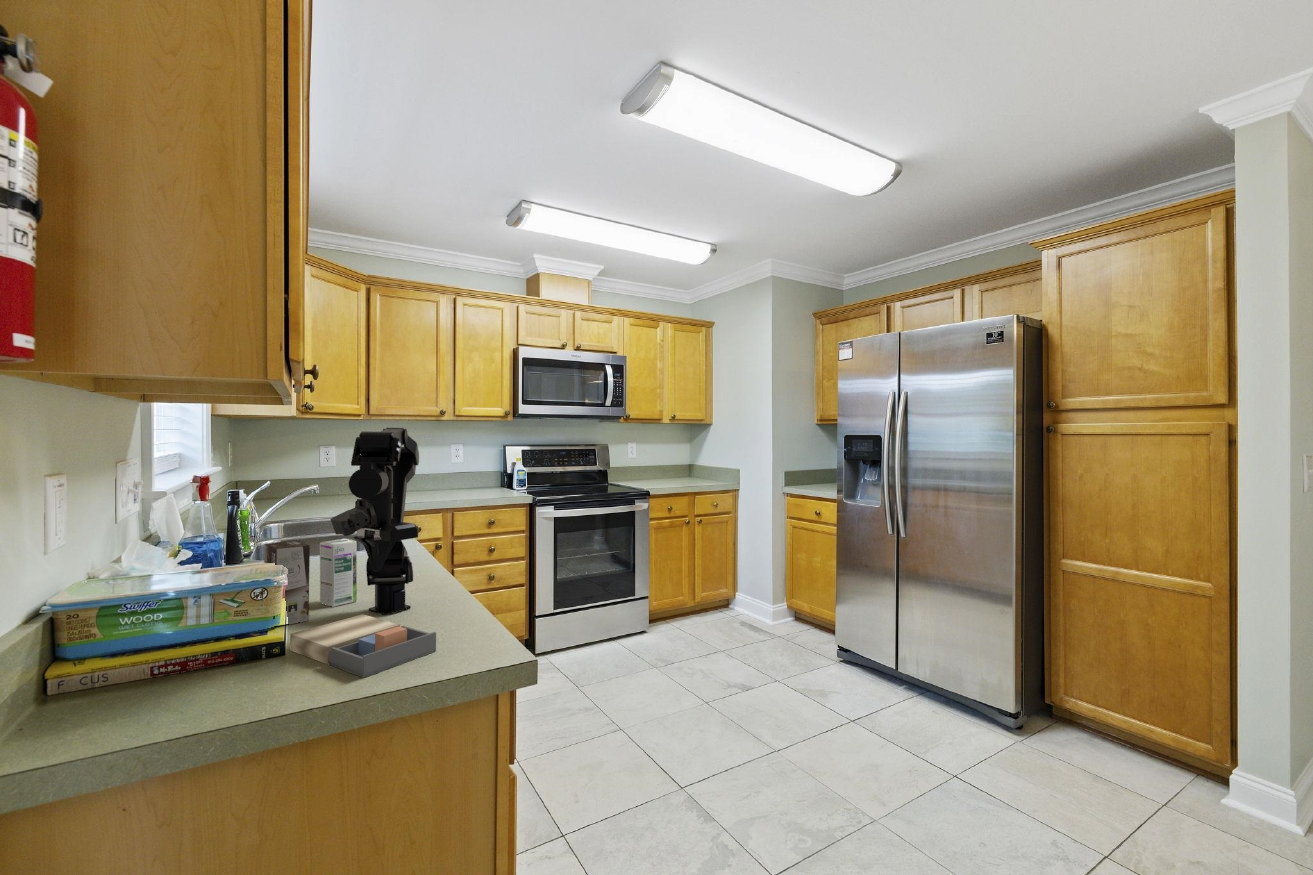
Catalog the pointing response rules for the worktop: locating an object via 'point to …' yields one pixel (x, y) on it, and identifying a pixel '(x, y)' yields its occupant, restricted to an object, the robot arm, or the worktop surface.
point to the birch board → (335, 635)
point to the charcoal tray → (383, 654)
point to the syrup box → (338, 572)
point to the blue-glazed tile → (366, 645)
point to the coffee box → (293, 575)
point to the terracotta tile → (390, 637)
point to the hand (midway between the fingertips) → (376, 571)
